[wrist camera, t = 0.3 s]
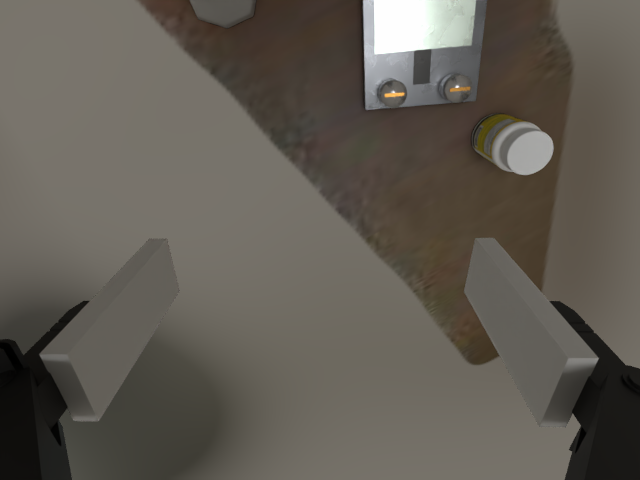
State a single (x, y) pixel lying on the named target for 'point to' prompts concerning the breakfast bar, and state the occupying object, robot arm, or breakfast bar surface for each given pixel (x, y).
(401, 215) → the breakfast bar surface
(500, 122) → the supplement bottle
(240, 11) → the flask
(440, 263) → the breakfast bar surface
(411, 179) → the breakfast bar surface
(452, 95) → the console
